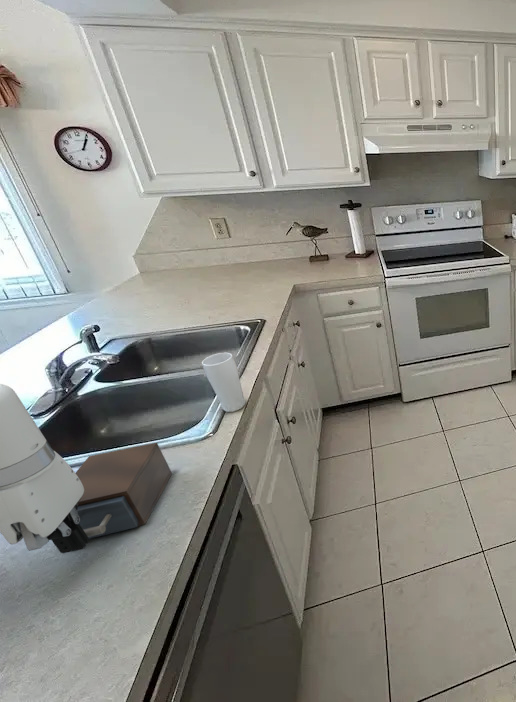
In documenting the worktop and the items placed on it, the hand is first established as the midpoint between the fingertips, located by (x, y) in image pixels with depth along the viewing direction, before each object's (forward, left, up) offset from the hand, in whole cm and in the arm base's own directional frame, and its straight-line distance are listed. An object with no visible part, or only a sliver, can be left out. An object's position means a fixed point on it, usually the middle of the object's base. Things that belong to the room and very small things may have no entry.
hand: (76, 546), depth 68 cm
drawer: (0, +10, -4) cm, 10 cm away
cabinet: (0, +13, -5) cm, 14 cm away
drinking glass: (+13, +43, -5) cm, 45 cm away
